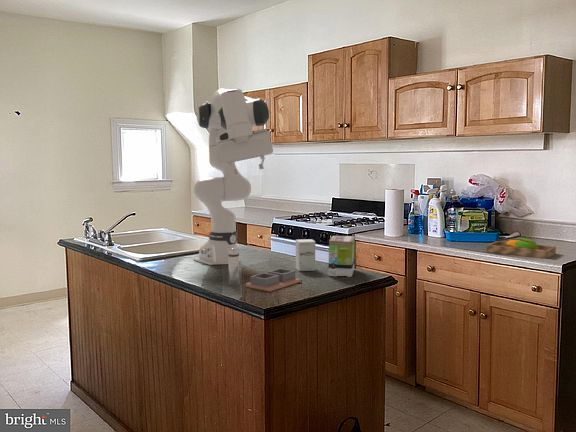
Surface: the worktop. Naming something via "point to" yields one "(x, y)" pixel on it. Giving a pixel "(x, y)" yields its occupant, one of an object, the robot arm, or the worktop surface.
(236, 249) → the grey capped bottle
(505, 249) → the wooden tray
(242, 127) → the robot arm
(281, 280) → the grey double cup holder
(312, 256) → the supplement box
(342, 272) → the tea box
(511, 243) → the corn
